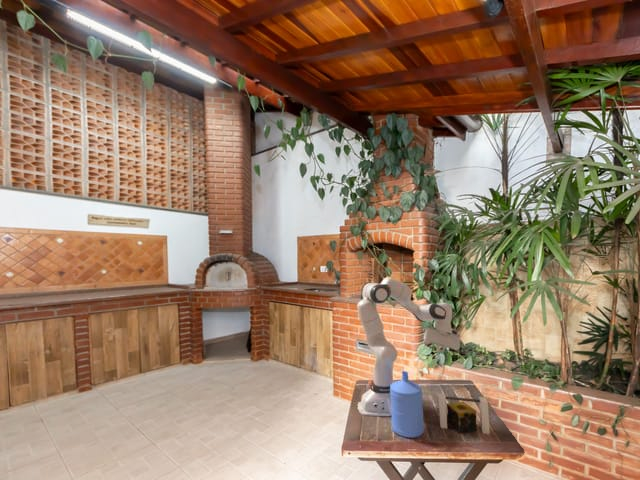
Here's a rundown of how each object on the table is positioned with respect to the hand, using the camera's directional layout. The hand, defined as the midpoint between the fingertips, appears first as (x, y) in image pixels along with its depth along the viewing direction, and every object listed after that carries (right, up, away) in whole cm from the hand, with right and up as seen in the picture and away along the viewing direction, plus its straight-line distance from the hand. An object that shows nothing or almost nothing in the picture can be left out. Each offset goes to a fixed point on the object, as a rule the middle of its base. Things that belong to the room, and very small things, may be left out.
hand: (440, 353), depth 176 cm
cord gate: (+2, -28, -25) cm, 38 cm away
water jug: (-26, -29, -24) cm, 46 cm away
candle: (+1, -29, -24) cm, 37 cm away
